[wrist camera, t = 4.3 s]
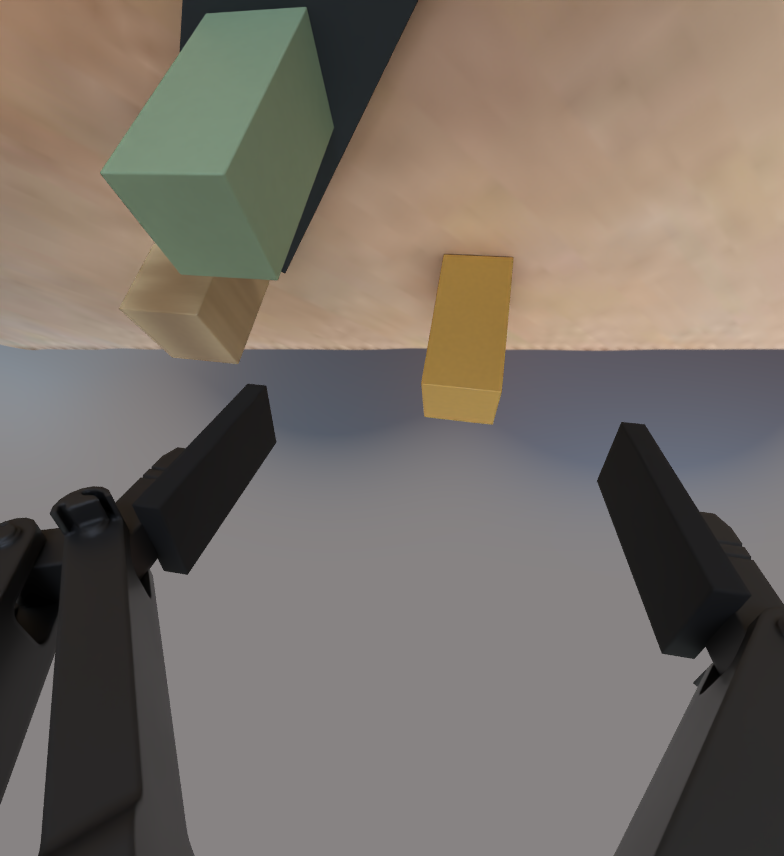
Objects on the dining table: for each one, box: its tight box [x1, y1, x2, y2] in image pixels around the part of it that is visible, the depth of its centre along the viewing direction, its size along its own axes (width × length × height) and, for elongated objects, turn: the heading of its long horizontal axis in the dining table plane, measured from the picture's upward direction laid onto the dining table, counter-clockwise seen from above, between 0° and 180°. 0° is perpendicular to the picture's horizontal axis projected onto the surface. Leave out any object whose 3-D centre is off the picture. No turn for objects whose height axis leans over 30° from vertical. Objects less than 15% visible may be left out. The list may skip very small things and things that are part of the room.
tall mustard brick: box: [421, 254, 513, 425], centre depth 30 cm, size 5×5×11 cm
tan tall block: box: [119, 243, 270, 364], centre depth 27 cm, size 5×5×11 cm
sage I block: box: [100, 7, 334, 280], centre depth 19 cm, size 5×5×11 cm
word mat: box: [180, 0, 418, 273], centre depth 21 cm, size 28×9×1 cm, turn 150°
